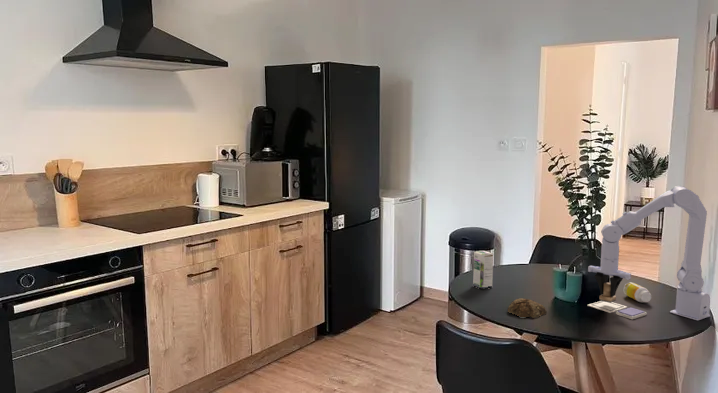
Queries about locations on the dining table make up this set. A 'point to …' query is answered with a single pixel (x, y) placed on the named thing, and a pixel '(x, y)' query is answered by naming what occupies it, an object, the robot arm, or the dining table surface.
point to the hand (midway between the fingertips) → (607, 294)
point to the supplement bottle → (637, 292)
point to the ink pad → (631, 313)
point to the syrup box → (483, 268)
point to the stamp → (607, 294)
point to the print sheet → (607, 306)
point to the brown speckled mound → (526, 308)
